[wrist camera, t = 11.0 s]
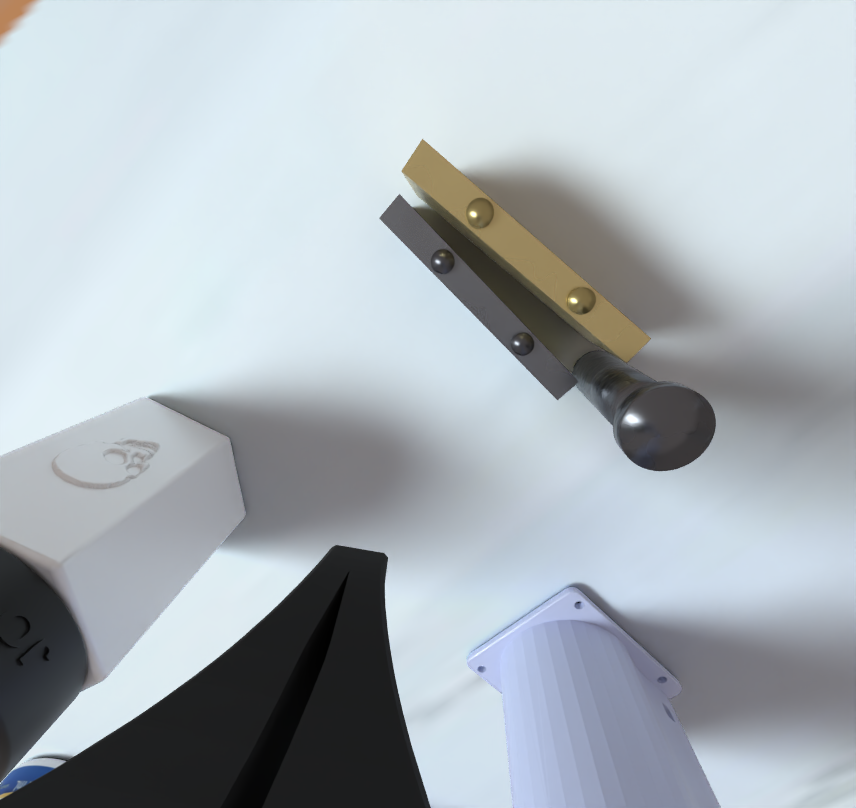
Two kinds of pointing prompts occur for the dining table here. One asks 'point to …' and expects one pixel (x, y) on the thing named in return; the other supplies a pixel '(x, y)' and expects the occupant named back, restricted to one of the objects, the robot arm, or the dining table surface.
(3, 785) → the beverage bottle
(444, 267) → the hinge base
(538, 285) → the brass leaf
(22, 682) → the jar
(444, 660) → the dining table surface
